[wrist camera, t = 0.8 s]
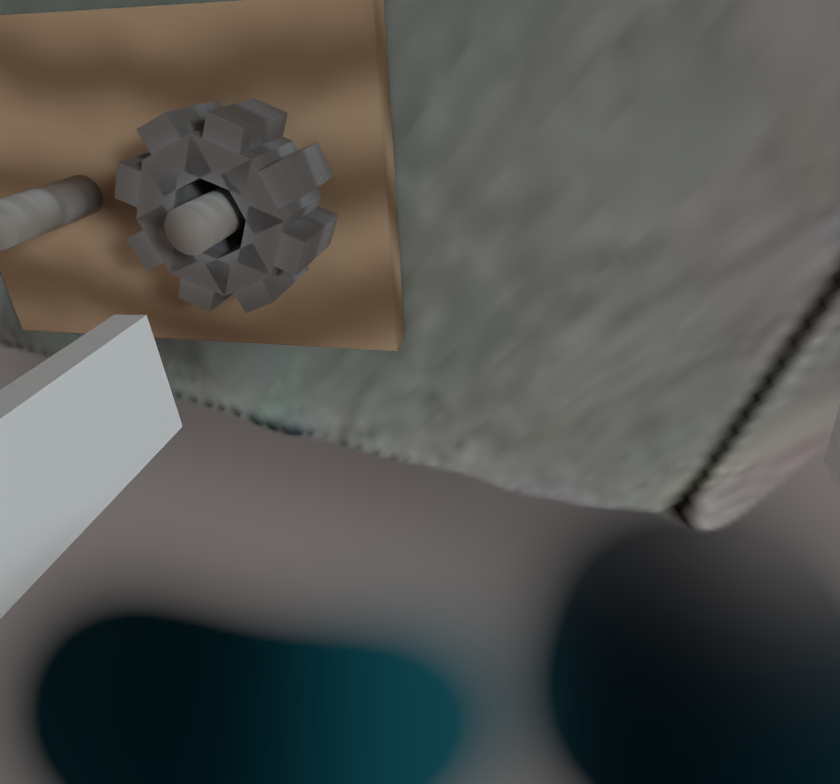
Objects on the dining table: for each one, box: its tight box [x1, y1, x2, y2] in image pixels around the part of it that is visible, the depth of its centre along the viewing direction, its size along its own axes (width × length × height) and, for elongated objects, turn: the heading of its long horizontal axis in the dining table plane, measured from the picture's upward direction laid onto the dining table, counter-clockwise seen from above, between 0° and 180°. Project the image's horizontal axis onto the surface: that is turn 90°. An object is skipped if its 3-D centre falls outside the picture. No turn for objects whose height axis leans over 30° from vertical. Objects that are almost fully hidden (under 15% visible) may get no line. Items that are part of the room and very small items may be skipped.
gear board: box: [0, 0, 405, 351], centre depth 34 cm, size 18×26×9 cm
